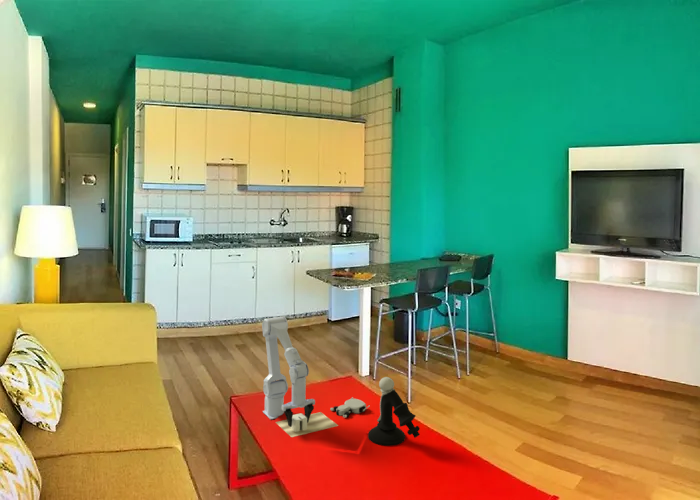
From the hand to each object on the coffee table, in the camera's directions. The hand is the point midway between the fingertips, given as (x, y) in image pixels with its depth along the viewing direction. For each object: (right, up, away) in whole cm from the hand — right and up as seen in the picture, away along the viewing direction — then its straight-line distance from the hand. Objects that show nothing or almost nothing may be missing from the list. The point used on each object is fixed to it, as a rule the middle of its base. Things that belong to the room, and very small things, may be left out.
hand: (298, 423), depth 218 cm
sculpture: (+40, -5, -7) cm, 40 cm away
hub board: (+3, -3, +5) cm, 6 cm away
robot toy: (+21, -2, +19) cm, 29 cm away
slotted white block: (0, -2, 0) cm, 2 cm away
